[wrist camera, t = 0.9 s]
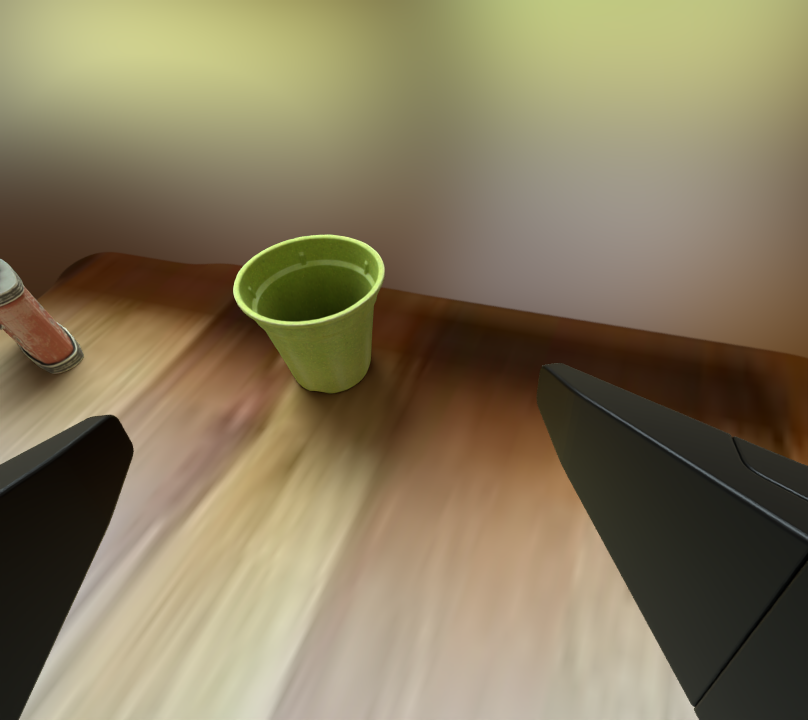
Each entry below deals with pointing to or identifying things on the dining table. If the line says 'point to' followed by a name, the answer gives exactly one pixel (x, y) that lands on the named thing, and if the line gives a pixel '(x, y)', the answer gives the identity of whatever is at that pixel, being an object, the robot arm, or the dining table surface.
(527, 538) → the dining table surface
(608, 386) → the robot arm
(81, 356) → the lighter
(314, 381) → the plant pot
